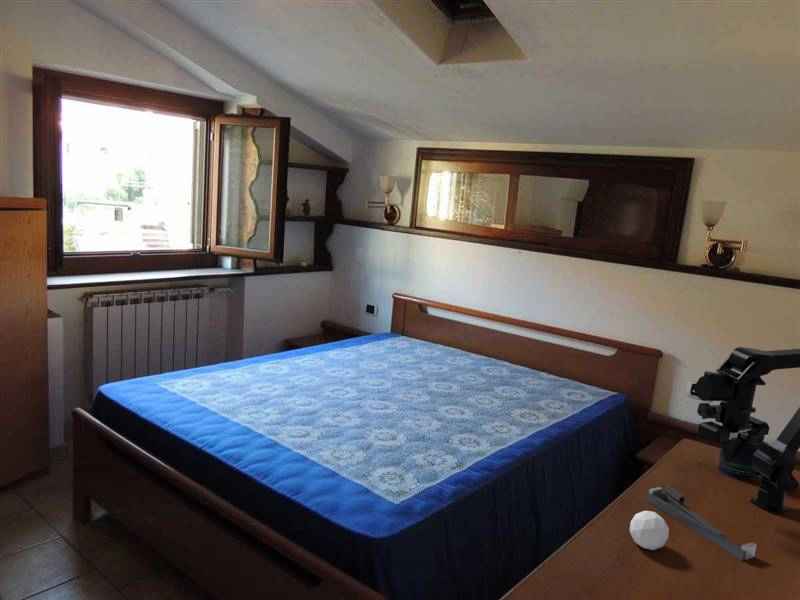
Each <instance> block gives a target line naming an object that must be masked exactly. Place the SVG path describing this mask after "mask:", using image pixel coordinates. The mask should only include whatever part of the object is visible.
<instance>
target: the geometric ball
mask: <svg viewBox="0 0 800 600" xmlns="http://www.w3.org/2000/svg"><path fill="white" fill-rule="evenodd" d="M669 531H670V528H669V526H668V524H667V522H666V521H665V519H664V518H663V517H662V516H660V515H659V514H658V513H657V512H655V511H651V510H643V511H640V512H638V513H635V515H634V516H633V518H632V519H631V521H630V524H629V532H630V535H631V537H632V539H633V541H634V542H635V543H636V544H637V545H639V546H640V547H641V548H643V549H647V550H652V551H655V550H657V549H660V548H663V547H664V546H665V544H666V543H667V541H668V539H669V534H670V532H669Z"/></svg>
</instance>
